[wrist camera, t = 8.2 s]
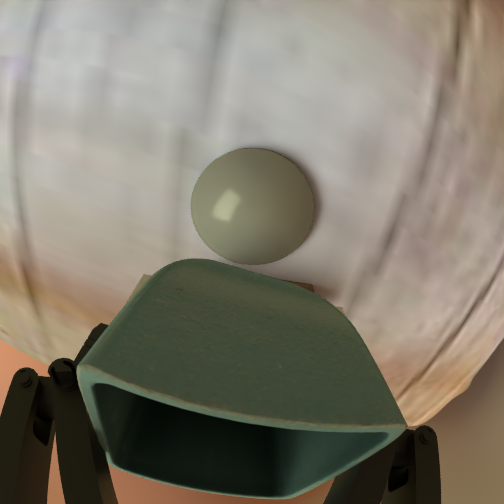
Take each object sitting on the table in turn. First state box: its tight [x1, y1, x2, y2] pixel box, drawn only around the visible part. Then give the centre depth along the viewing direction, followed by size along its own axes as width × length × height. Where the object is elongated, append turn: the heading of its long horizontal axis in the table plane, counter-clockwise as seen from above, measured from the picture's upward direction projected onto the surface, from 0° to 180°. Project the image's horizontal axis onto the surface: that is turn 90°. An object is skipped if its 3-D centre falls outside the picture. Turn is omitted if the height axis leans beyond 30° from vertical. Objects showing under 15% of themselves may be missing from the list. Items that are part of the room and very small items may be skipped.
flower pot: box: [77, 259, 408, 499], centre depth 11 cm, size 9×9×9 cm
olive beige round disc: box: [191, 148, 314, 265], centre depth 28 cm, size 12×12×1 cm
